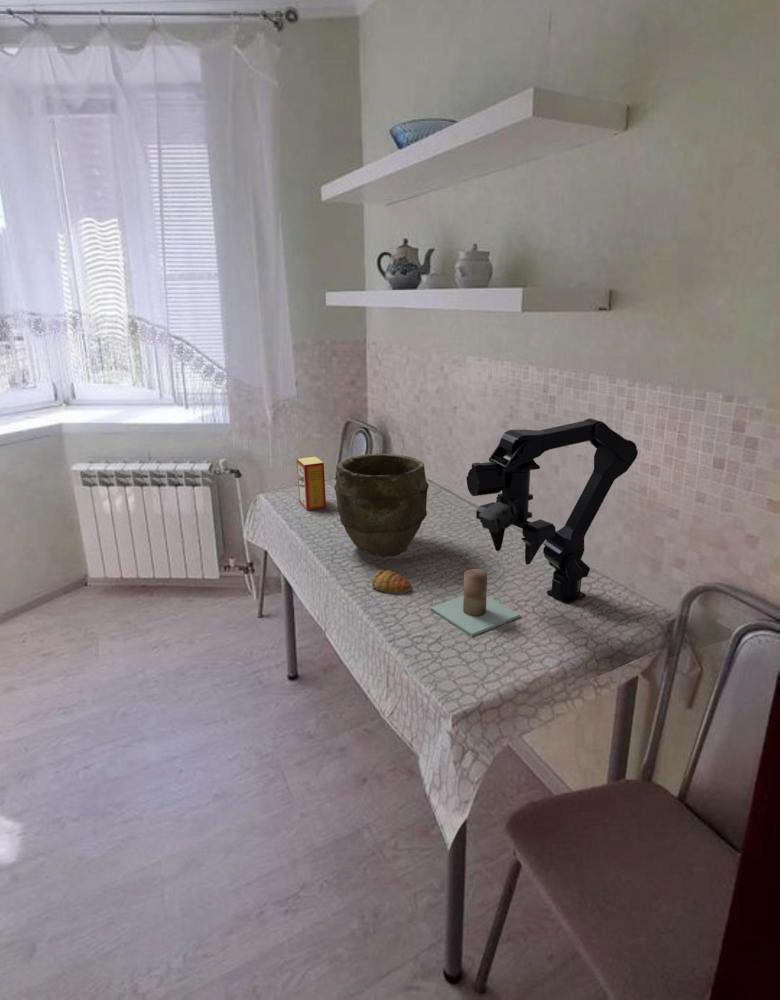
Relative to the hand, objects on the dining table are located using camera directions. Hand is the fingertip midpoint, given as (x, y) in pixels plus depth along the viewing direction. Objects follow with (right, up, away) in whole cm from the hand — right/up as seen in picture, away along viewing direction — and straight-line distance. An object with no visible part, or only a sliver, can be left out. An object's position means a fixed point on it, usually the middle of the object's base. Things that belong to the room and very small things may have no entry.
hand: (512, 557), depth 136 cm
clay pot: (-29, -1, +37) cm, 47 cm away
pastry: (-27, -9, +14) cm, 32 cm away
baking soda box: (-53, +11, +73) cm, 91 cm away
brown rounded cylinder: (-8, -12, 0) cm, 15 cm away
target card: (-8, -13, +1) cm, 15 cm away
